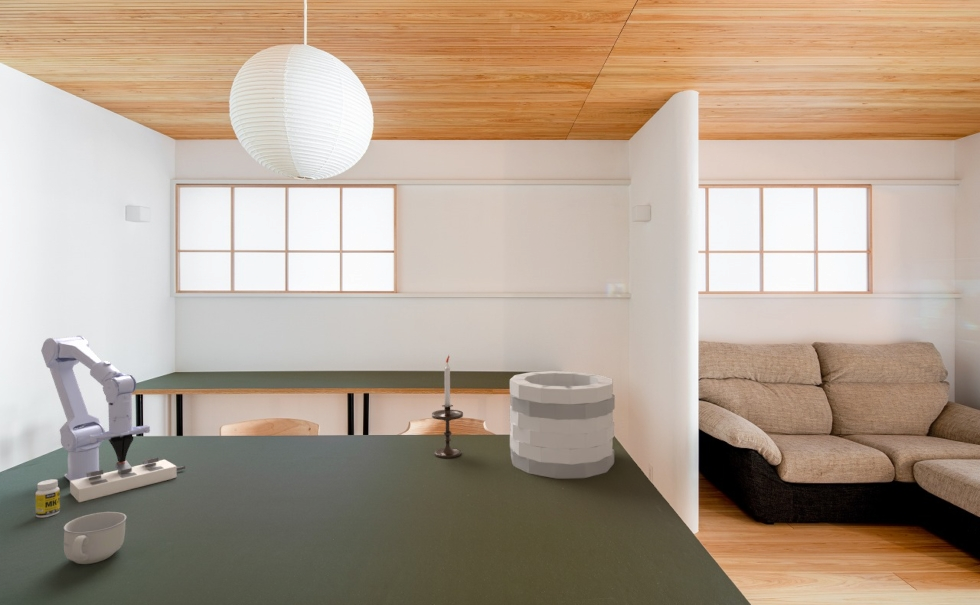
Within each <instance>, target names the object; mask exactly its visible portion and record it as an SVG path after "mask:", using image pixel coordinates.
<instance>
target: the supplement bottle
mask: <svg viewBox="0 0 980 605" xmlns="http://www.w3.org/2000/svg"><path fill="white" fill-rule="evenodd" d="M58 481H59V480H58V479H53V478H51V479H46V480H45V479H44V480H42V481H40V482H38V483H37V491H36V492H35V517H37V518H39V519H40V518H42V519H43V518H49V517H52V516H55V515H57V514H59V513H60V510H61V501H60V500H61V497H60V496H61V492H60V491H61V490H60V487H59V486H58V485H59V482H58Z"/></svg>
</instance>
